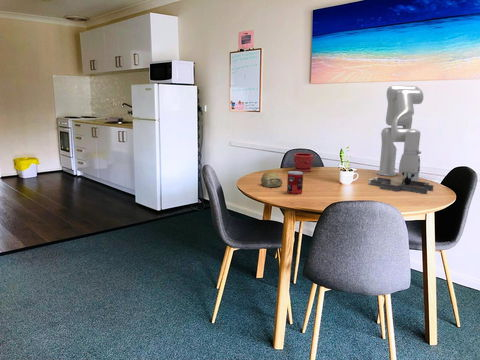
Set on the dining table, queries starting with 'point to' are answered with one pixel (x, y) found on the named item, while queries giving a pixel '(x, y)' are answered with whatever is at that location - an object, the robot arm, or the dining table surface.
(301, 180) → the canned food
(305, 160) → the plant pot
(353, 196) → the dining table surface
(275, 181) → the pastry
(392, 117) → the robot arm
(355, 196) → the dining table surface
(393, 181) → the birch block
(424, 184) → the trap channel
